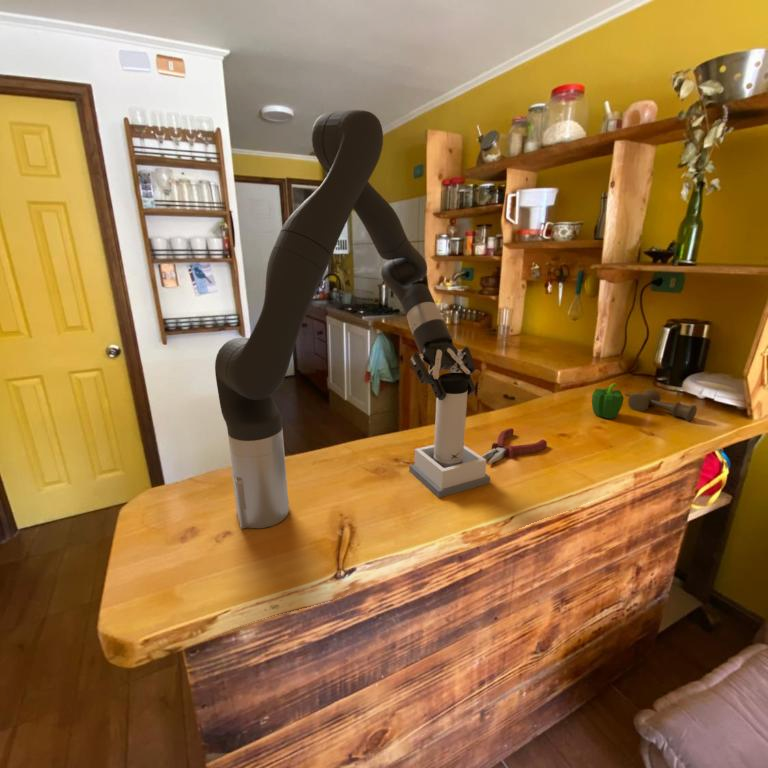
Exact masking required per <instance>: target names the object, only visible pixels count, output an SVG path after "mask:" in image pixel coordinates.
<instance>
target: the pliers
mask: <svg viewBox="0 0 768 768" xmlns="http://www.w3.org/2000/svg"><path fill="white" fill-rule="evenodd" d="M514 433H515V432H514V428H511V427H510V428H507V429H504V430H502V431H501V432H500V433H499V435H498V437H497V441H496V442H493V443H492V444H491V449H490V450H488V451H487V452H485V453H484V454H482V455H480V456H481V457H483V458H484V459H486V460H488V459H490V460H489V461H488V462H487V465H490V464H493V463H495V462H498V461H499V460H501V459H502V458H503V457H508V458H509V459H513V456H518V455H519V456H521V455H529V454H530V455H531V454H536V453H540V452H542V451H543V450H544V449H546V447H547V446H548V443H547V441H546V440H545V439H544V438H543V439H541V440H539V441H537V442H535V443H529V444H520V445H519V444H518V445H517V444H516V445H510V446H509V445H506V446H503V445H504V441H505V440H506V439H507V438H509V437H512V436H513V435H514ZM511 435H512V436H511ZM506 437H507V438H506ZM503 440H504V441H503Z"/></svg>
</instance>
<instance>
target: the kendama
mask: <svg viewBox="0 0 768 768" xmlns="http://www.w3.org/2000/svg"><path fill="white" fill-rule="evenodd" d="M624 395H625V396H626V397H628V400H627V404H628V407H630V409H632V410H633V411H636V412H645V411H646V410H647V409H648V407H658V408H660V409H663V410H665V411H667V412H669V413H670V414H671V415H672V416H673V417H675V416H677V417H680V418H683V419H685V422H686V421H687V422H691V421H693V420H694V418H695V417H696V415H697V411H698V407H697V406H696V405H695V404H693V405H684V404H682V403H681V402H679V401H677V402H666V401H661V394H660V393H659V391H657V390H655V389H651V388H649V389H645V390H644V391H643V392H634V393H633V392H632V393H631V394H630V393H624V394H623V396H624Z"/></svg>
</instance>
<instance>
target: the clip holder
mask: <svg viewBox="0 0 768 768" xmlns="http://www.w3.org/2000/svg"><path fill="white" fill-rule="evenodd" d="M481 456H482V455H480V454H478V453H477V452H475V451H473V450H472V449H471V448H470V447H468V446H466V445H464V448H463V462H462V464H458V465H455V466H451V467H447V468H444V467H442V466H440V465H439V464H438V463H437V462H435V461H434V444H430V445H426V446H423V447H418V448H415V449H414V462H413V464H409V466H408V467H409V468H408V469H409V470H408V471H409V473H411V474H412V476H414V477H415V478H416V479H417V480H419V482H421V483H422V485H424V487H426V488H427V489H428V490H429V491H430V492H431V493H432V494H433V495H434V496H436V498H438V499H440V498H444V497H446V496H450V495H454V494H457V493H461V492H465V491H467V490H471V489H475V488H479V487H482V486H484V485H488V484H491V476H490V475H488V474H487V473H486V470H487V469H486V468H487V459H484V458H483V457H481Z"/></svg>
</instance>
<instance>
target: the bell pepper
mask: <svg viewBox="0 0 768 768" xmlns="http://www.w3.org/2000/svg"><path fill="white" fill-rule="evenodd" d="M616 386H618V384H617V383H615V382H613V383H611V384H610V385H609V386H608V387H607V388H603V389H602V388H595V389H594V391H593V394H592V397H591V398H592V399H591V405H592V406H591V407H592V413H594V415H595V416H596V417H603V418H605V419H611V420H613V419H615V418H617V417H618V415H619V413H620V411H621V409H622V407H623V403H624V394H623V393H622V392H621V390H619V389H615V390H614V389H613V388H614V387H616Z"/></svg>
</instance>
